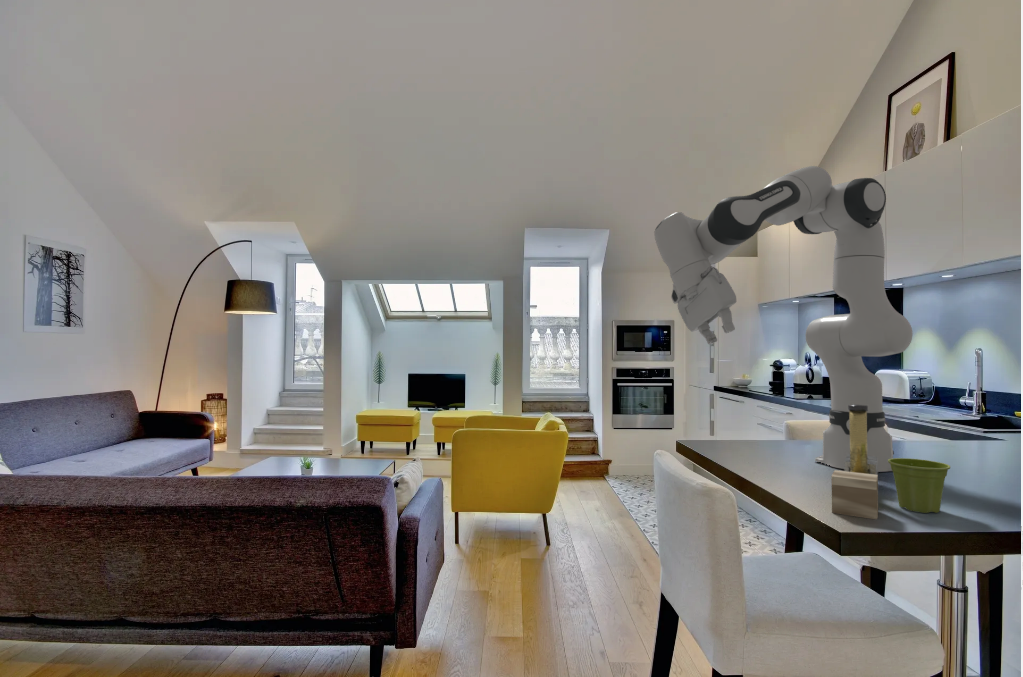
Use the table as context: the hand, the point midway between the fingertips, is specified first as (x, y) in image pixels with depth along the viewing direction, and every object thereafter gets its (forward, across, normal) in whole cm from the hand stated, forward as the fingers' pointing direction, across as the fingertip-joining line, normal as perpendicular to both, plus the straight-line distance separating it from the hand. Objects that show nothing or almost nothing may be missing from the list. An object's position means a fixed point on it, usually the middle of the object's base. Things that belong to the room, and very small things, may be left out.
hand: (721, 337), depth 118 cm
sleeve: (+40, +8, -19) cm, 45 cm away
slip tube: (+38, +4, -16) cm, 42 cm away
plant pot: (+44, -8, -17) cm, 48 cm away
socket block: (+40, -9, -5) cm, 41 cm away
